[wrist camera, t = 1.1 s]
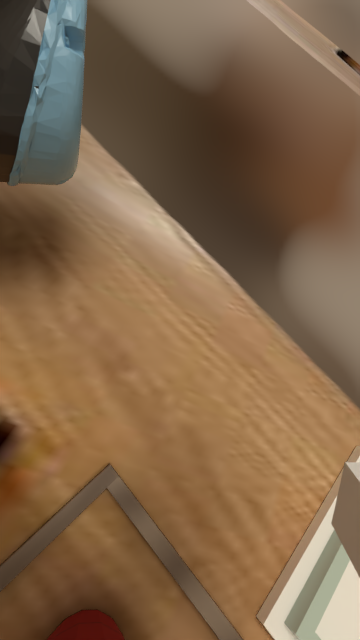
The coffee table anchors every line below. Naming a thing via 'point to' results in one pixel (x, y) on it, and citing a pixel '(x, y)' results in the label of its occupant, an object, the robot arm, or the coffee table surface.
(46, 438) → the coffee table surface
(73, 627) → the plastic cup
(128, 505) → the holder frame
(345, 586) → the base plate
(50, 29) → the robot arm
